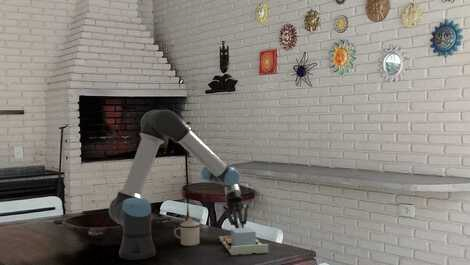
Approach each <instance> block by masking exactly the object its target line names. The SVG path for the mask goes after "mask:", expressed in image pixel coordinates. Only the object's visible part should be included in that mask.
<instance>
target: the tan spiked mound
mask: <svg viewBox="0 0 470 265" xmlns="http://www.w3.org/2000/svg"><path fill="white" fill-rule="evenodd" d="M185 216H186V217H185V220H184V222H185V221H187V220H188V218H191V217H190V211H189V203H187V204H186V215H185ZM200 227H203V224H200Z"/></svg>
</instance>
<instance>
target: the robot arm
mask: <svg viewBox="0 0 470 265" xmlns="http://www.w3.org/2000/svg"><path fill="white" fill-rule="evenodd" d="M140 127H141V129H140V133H139V135H140V142H139V145H138V147H137V150H136V153H135V156H134V158H133V161H132V164H131V166H130V169H129V172H128V174H127V178H126V180H125V183H124V185H123V188H121V189H120V190H118V192H117V195H116V197H115V198H113V200H111V202H110V204H109V207H108V214H109V216H110V218H111V219H112V220H113V221H114V222H115V223H116V224H118V225H120V226H122V241H121V244H120V248H119V251H118V257H119V258H121V259H124V260H129V261H130V260H131V261H133V260H134V261H137V260H144V259H150V258H153V257H154V256H156V246H155V243H154V241H153V238H152V206H151V202H150V201H149V200H148V199H146V198H144V197H143V192H144V189H145V186H146V184H147V180H148V177H149V176H150V173H151V170H152V167H153V164H154V161H155V159H156V155H157V154H158V150H159V147H160V146H161V145H162V144H164V143H165V140H166V138H169V139H170V140H171V141H172V142H174V143H178V144H179V145H181V146H182V147H183V148H184V149H185V150H186V151H187V152H188V153H189V154H191V155H192V157H194V158H195V159H196V160H197V161H198V162H199V163H200V164H201V165H202V166H203V167H202V170H201V178H202V179H203V180H204V181H207V182H212V183H214V184H215V183H216V184H218V185H220V186H221V185H222V186H223V189H224V193H225V200H226V205H223V207H222V211H223V212H224V213H225V215H226V217H227V219H228V222H229V224H230V225H231V226H234V228H245V225H246V224H247V222H248V211H249V207H250V205H249V204H247V205H246V204H245V203H244V202H243V198H242V192H241V187H240V183H239V181H240V173H239V171H238V170H236V169H235V168H234V167H232V166H229V165H227V164H226V163H225V162H224V161H223V160H222V159H221V158H219V156H218V155H217V154H216V153H214V152H213V150H211V149H210V148H209V146H208V145H206V144H205V143H204V142H203V141H202V140H201V139H200V138H199V137H198V136H197V135H196V134H195V133H194V132H193V131H192V130H191V126H190V125H189V124H188V123H186V121H184V120H183V118H182V117H180V116H179V115H178V114H177V113H175V112H174V111H172V110H170V109H152V110H149V111H148V112H145V113H144V114H143V116H142V117H141V120H140ZM242 209H243V210H244V212H243V214H242ZM238 220H239V221H238Z"/></svg>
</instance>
